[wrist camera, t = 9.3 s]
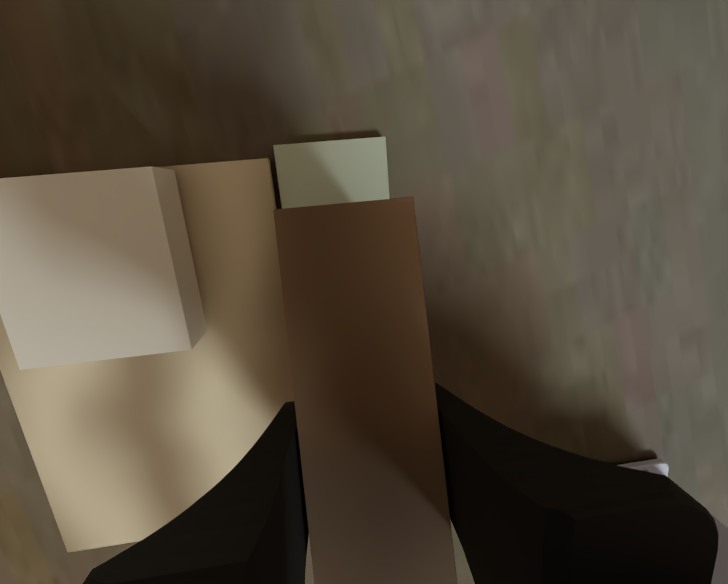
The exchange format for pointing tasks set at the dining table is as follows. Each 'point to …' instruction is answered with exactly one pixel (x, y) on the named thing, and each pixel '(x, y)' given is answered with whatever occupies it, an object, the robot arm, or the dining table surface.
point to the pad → (332, 172)
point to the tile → (96, 267)
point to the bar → (365, 393)
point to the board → (168, 379)
